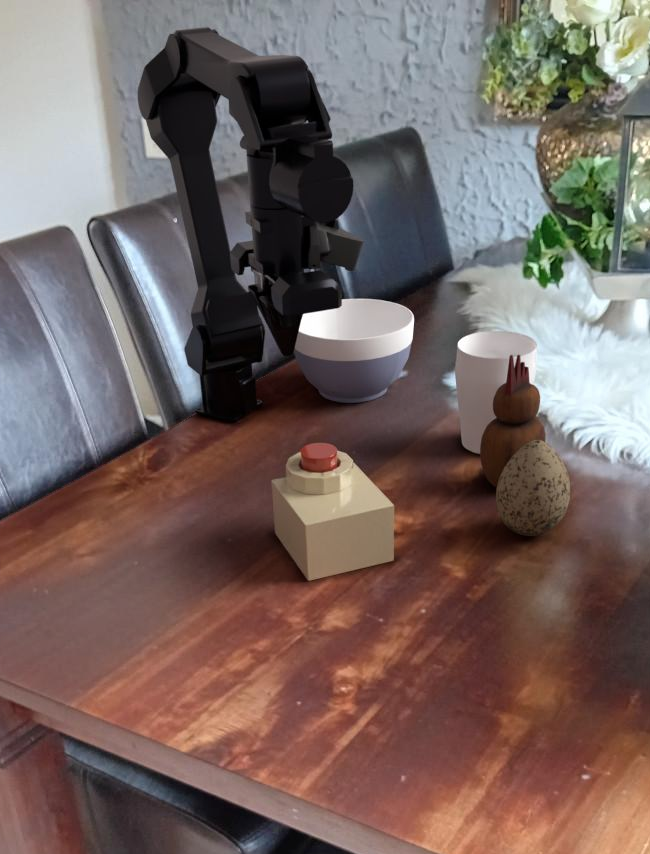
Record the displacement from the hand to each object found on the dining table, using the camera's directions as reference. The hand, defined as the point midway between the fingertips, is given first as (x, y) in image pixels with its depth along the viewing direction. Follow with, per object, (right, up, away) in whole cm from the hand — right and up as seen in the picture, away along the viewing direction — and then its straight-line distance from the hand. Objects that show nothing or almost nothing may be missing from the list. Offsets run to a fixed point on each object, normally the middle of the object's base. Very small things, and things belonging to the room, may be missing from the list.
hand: (287, 354), depth 109 cm
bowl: (+9, +2, +25) cm, 26 cm away
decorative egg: (+25, -20, -8) cm, 33 cm away
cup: (+24, -8, +9) cm, 27 cm away
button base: (+5, -22, -8) cm, 24 cm away
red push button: (+3, -14, -10) cm, 18 cm away
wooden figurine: (+24, -14, +1) cm, 28 cm away
